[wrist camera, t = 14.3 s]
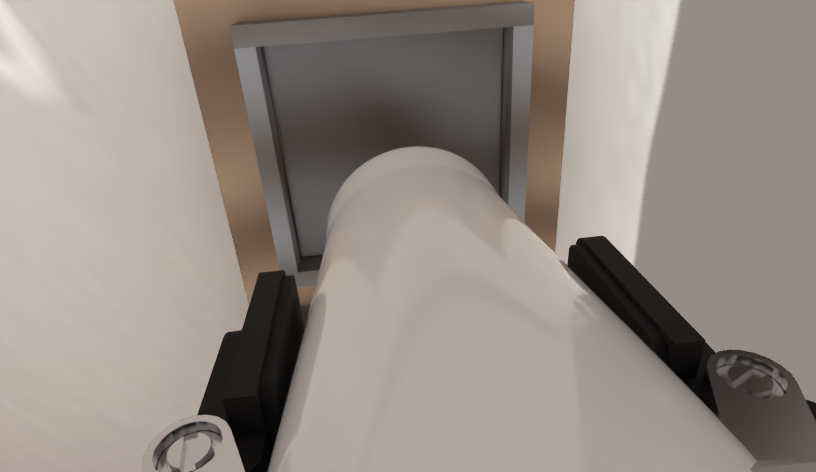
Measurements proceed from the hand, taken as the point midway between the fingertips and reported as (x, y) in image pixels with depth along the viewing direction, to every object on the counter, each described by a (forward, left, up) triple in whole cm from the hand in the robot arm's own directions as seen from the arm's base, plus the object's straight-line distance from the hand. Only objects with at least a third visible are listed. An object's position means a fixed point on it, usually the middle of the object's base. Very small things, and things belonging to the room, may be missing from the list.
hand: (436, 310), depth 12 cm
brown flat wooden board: (-4, -2, -15) cm, 15 cm away
